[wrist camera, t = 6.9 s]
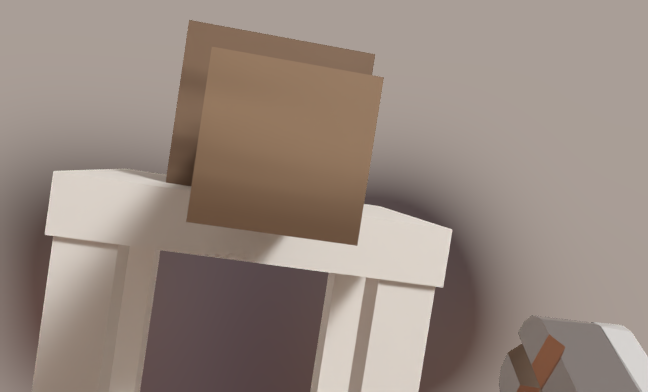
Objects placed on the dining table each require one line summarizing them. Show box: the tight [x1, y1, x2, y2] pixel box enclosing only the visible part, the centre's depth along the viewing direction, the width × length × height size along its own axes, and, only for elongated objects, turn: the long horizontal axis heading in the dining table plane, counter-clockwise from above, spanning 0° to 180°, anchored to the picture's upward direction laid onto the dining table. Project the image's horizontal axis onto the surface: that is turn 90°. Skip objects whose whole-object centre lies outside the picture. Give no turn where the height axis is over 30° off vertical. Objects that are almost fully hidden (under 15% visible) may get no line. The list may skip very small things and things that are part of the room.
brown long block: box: [166, 20, 384, 246], centre depth 20 cm, size 19×7×6 cm, turn 8°
